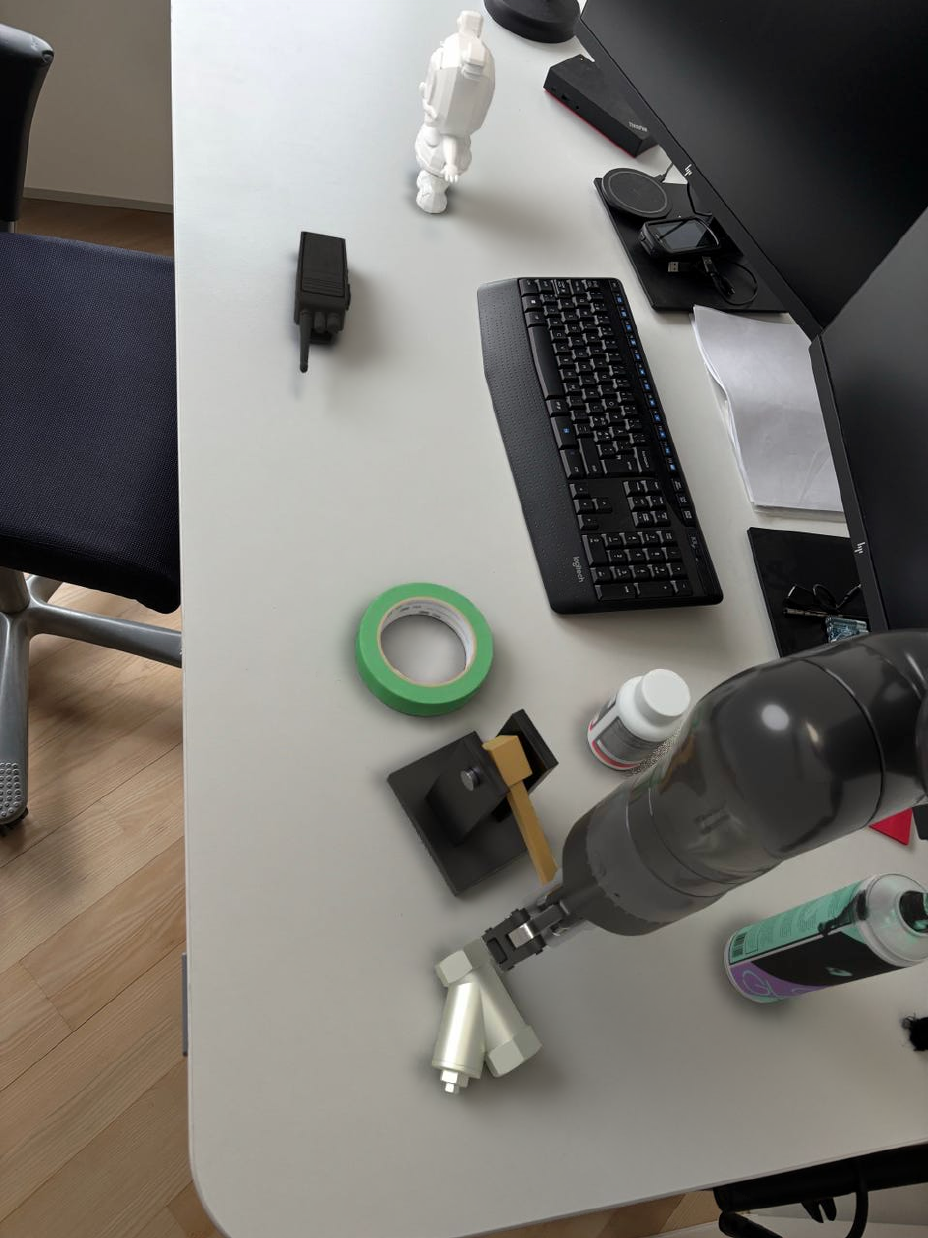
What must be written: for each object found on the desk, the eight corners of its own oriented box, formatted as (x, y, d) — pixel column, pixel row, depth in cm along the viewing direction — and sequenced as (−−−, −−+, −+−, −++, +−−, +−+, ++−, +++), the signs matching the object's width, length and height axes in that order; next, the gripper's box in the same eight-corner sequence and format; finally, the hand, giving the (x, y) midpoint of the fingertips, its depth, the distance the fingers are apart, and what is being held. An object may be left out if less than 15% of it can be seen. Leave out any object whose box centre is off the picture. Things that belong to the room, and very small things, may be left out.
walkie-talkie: (364, 251, 95) (366, 380, 84) (317, 280, 98) (313, 410, 86) (327, 205, 91) (323, 335, 80) (278, 237, 93) (269, 367, 82)
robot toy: (397, 246, 100) (436, 72, 84) (398, 134, 110) (433, -41, 94) (463, 258, 102) (514, 90, 86) (458, 147, 112) (503, -22, 96)
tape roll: (361, 719, 72) (366, 706, 70) (348, 598, 77) (353, 581, 75) (495, 713, 75) (504, 700, 73) (474, 597, 80) (482, 581, 78)
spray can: (737, 1010, 68) (914, 964, 51) (713, 934, 70) (875, 866, 54) (799, 996, 70) (990, 947, 53) (773, 922, 72) (949, 854, 55)
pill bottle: (653, 767, 76) (709, 721, 68) (595, 774, 75) (644, 728, 66) (635, 708, 79) (686, 657, 70) (578, 714, 77) (624, 662, 69)
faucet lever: (584, 897, 64) (604, 902, 62) (528, 933, 62) (546, 941, 60) (516, 726, 63) (534, 726, 61) (457, 757, 61) (473, 758, 59)
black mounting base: (539, 844, 71) (601, 789, 60) (454, 896, 67) (503, 847, 56) (471, 735, 74) (518, 665, 63) (386, 779, 70) (420, 712, 59)
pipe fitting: (448, 1107, 60) (531, 1049, 63) (459, 1108, 57) (546, 1046, 60) (389, 995, 63) (471, 943, 65) (396, 989, 59) (482, 935, 62)
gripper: (593, 985, 45) (500, 1021, 59) (784, 848, 52) (660, 909, 65) (511, 851, 47) (441, 916, 61) (704, 736, 54) (601, 818, 67)
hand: (554, 912), depth 63 cm, fingers open, 8 cm apart
